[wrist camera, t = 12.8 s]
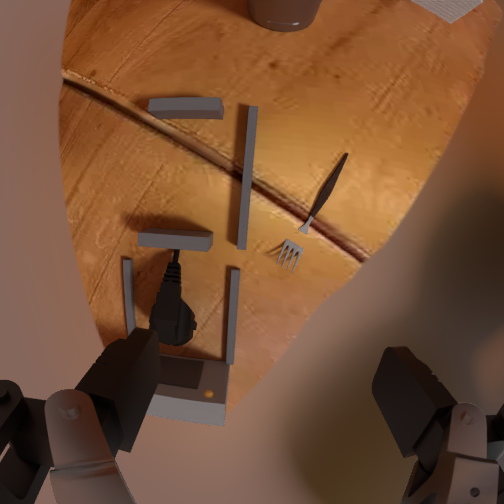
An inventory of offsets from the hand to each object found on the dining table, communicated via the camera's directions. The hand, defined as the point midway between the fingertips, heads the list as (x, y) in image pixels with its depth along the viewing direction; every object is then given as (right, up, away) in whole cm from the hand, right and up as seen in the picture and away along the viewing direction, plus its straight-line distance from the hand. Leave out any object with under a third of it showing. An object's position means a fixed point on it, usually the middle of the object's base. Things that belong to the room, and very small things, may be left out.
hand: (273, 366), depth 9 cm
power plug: (-10, -1, +26) cm, 28 cm away
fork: (+7, +9, +25) cm, 27 cm away
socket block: (-10, -6, +27) cm, 30 cm away
